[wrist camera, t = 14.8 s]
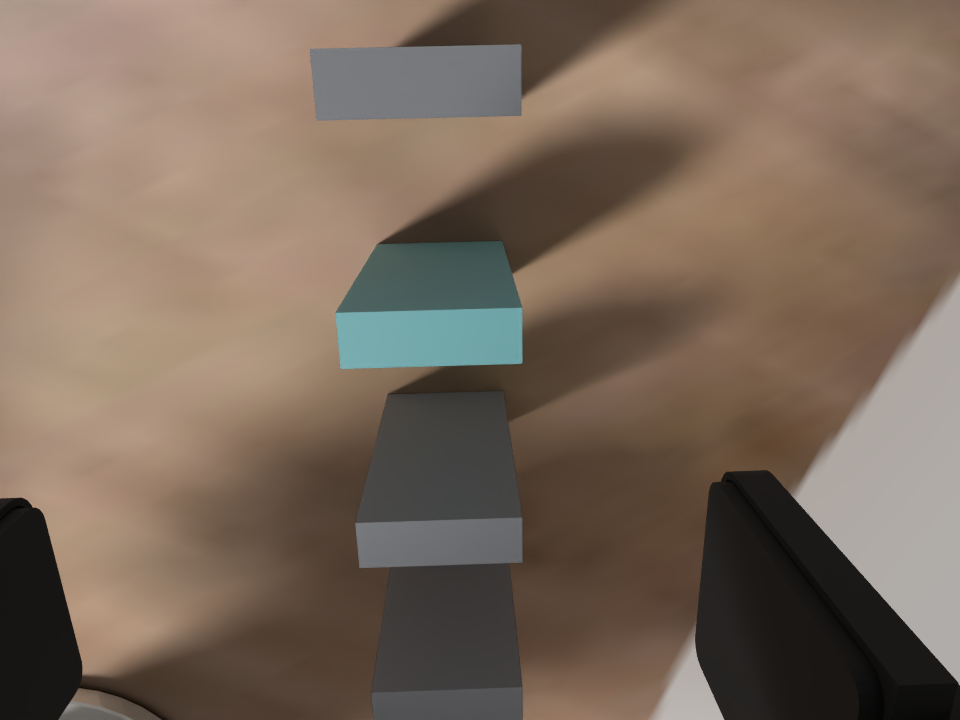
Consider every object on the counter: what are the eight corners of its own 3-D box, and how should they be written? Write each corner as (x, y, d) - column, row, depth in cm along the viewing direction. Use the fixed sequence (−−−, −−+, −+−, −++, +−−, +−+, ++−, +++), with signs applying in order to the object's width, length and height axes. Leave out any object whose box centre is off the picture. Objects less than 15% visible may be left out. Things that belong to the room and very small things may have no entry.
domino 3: (503, 424, 31) (522, 562, 22) (390, 428, 31) (359, 568, 22) (503, 390, 31) (522, 517, 21) (387, 394, 30) (355, 523, 21)
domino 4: (505, 549, 33) (522, 724, 24) (399, 553, 33) (374, 729, 24) (504, 520, 33) (522, 687, 23) (397, 524, 33) (371, 692, 23)
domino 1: (500, 111, 27) (521, 115, 17) (367, 115, 27) (316, 120, 17) (499, 66, 26) (521, 44, 17) (364, 68, 26) (310, 49, 17)
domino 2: (502, 279, 29) (522, 363, 19) (380, 283, 29) (340, 369, 19) (501, 240, 28) (522, 307, 19) (377, 244, 28) (335, 312, 19)
